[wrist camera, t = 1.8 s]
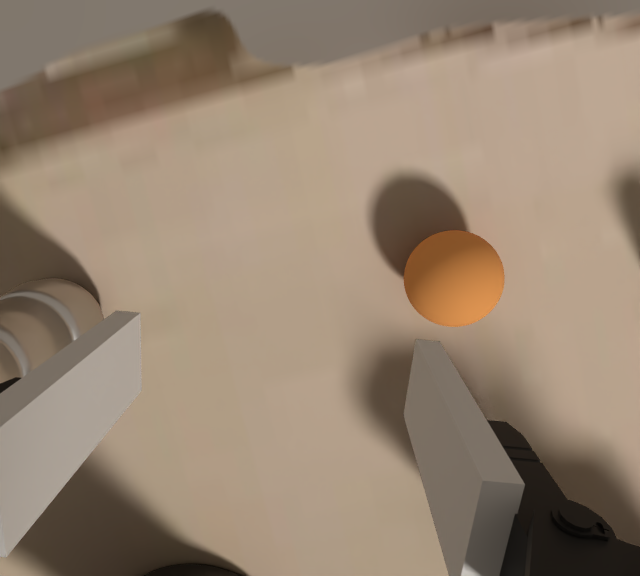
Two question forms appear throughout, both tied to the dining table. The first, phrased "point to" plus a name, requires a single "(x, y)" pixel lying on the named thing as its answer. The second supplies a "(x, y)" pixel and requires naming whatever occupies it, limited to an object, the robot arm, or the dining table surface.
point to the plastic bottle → (42, 323)
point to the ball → (454, 278)
